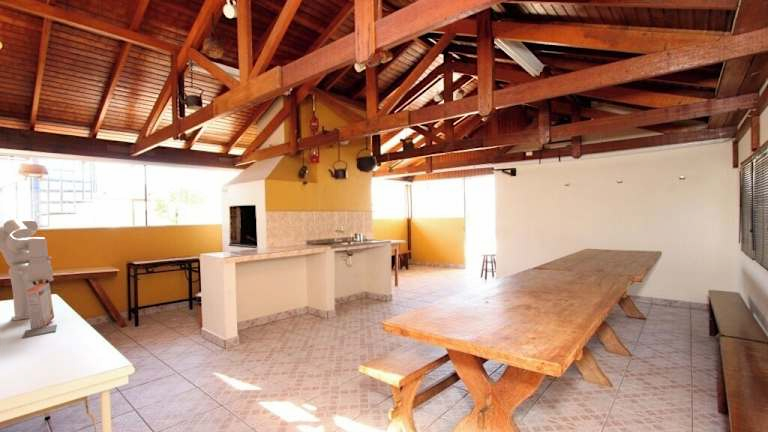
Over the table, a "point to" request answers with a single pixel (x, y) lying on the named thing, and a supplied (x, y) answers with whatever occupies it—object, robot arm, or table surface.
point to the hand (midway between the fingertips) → (41, 292)
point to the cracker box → (39, 305)
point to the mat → (39, 331)
